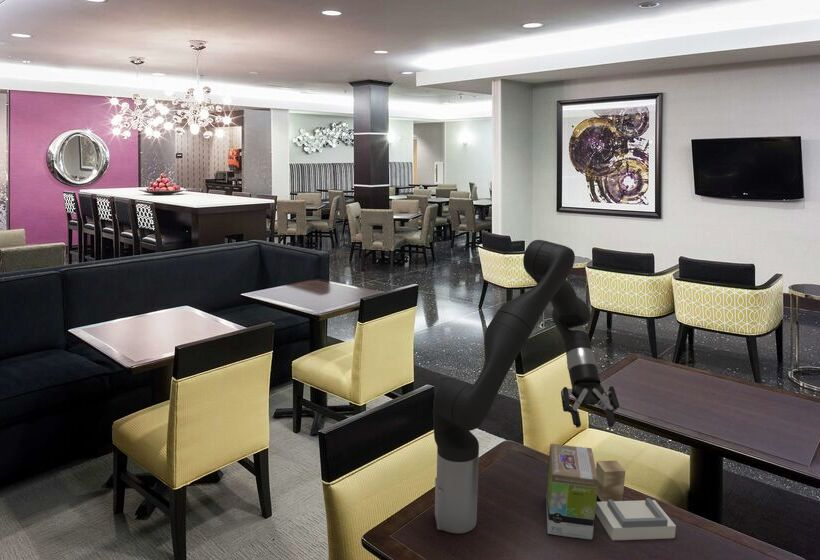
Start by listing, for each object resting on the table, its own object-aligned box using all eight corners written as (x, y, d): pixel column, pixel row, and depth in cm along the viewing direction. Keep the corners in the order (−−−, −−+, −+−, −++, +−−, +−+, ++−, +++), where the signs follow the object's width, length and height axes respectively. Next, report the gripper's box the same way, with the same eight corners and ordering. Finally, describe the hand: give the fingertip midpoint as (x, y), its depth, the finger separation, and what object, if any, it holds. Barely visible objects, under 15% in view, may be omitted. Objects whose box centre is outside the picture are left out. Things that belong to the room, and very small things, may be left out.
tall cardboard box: (601, 506, 142) (604, 471, 140) (594, 495, 147) (596, 461, 145) (622, 506, 142) (625, 471, 140) (613, 494, 147) (616, 460, 145)
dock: (612, 540, 129) (613, 521, 129) (595, 513, 139) (596, 495, 138) (674, 538, 130) (676, 519, 129) (653, 511, 140) (655, 494, 139)
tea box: (594, 541, 129) (599, 479, 126) (546, 535, 131) (550, 473, 128) (588, 502, 144) (592, 446, 141) (545, 497, 146) (548, 441, 143)
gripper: (560, 362, 158) (571, 421, 149) (612, 361, 159) (627, 420, 150) (553, 374, 164) (563, 431, 155) (603, 373, 165) (617, 430, 156)
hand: (595, 426), depth 152 cm, fingers open, 8 cm apart
